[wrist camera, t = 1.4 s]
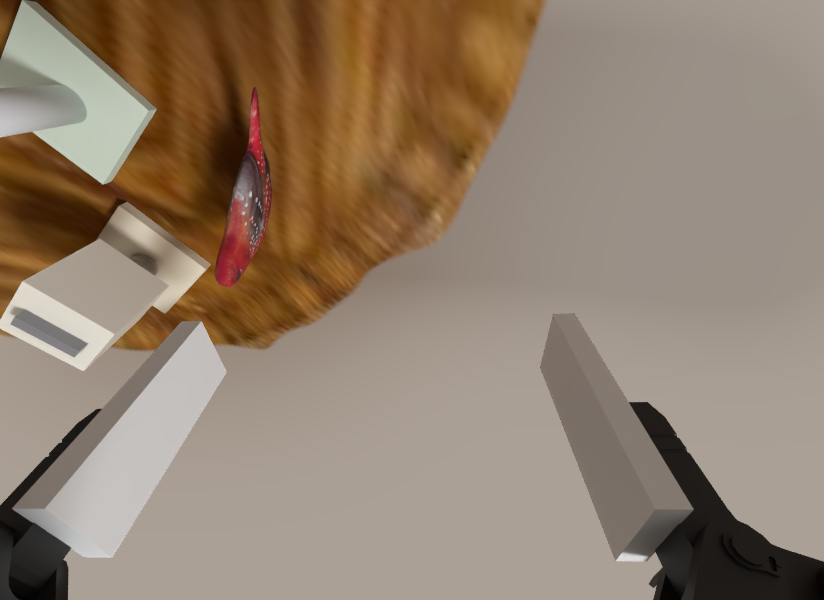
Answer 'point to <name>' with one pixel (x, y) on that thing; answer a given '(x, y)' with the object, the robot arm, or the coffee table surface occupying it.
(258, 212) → the decorative bird figurine
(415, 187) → the coffee table surface
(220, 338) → the coffee table surface
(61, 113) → the post
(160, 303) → the post
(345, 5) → the coffee table surface
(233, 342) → the coffee table surface
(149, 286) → the white drawer box
